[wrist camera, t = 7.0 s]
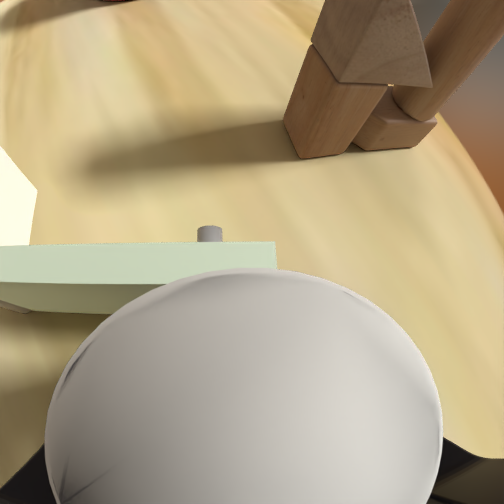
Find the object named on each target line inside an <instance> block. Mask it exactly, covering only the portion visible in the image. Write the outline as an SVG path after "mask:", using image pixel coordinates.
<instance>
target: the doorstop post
mask: <svg viewBox="0 0 504 504" xmlns="http://www.w3.org/2000/svg"><path fill="white" fill-rule="evenodd" d="M442 443H443V421H442V410H441V405H440V400H439V396H438V391H437V388H436V385H435V382H434V380H433V377H432V374H431V371H430V369H429V367H428V365H427V364H426V362H425V360H424V358H423V356H422V354H421V352H420V351H419V349H418V348H417V347H416V345H415V344H414V342H413V341H412V340H411V338H410V337H409V336H408V334H407V333H406V332H405V331H404V330H403V329H402V328H401V327H400V326H399V325H398V324H397V323H396V322H395V321H394V320H393V319H392V318H391V317H390V316H389V315H388V314H387V313H385V312H384V311H383V310H381V309H380V308H379V307H378V306H376V305H375V304H374V303H372V302H371V301H369V300H368V299H366V298H364V297H362V296H361V295H359V294H357V293H355V292H354V291H352V290H350V289H348V288H346V287H343V286H341V285H338V284H336V283H333V282H331V281H328V280H326V279H323V278H320V277H316V276H312V275H308V274H304V273H300V272H296V271H288V270H280V269H272V268H234V269H226V270H218V271H209V272H205V273H201V274H197V275H193V276H189V277H185V278H181V279H178V280H176V281H173V282H170V283H168V284H165V285H163V286H160V287H158V288H155V289H153V290H151V291H149V292H147V293H145V294H143V295H142V296H140V297H138V298H136V299H134V300H133V301H131V302H129V303H127V304H126V305H124V306H123V307H121V308H120V309H119V310H117V311H116V312H115V313H114V314H112V315H111V316H110V317H108V318H107V319H106V320H104V321H103V322H102V323H101V324H100V325H99V326H98V327H97V328H96V329H95V330H94V331H93V332H92V333H91V334H90V335H89V336H88V337H87V338H86V339H85V340H84V341H83V342H82V344H81V345H80V346H79V348H78V349H77V351H76V352H75V353H74V355H73V356H72V358H71V359H70V360H69V362H68V363H67V365H66V367H65V369H64V371H63V373H62V375H61V377H60V379H59V381H58V383H57V385H56V387H55V390H54V393H53V396H52V399H51V402H50V406H49V409H48V414H47V420H46V428H45V461H46V467H47V472H48V477H49V482H50V485H51V488H52V491H53V494H54V497H55V499H56V502H57V504H426V503H427V500H428V498H429V496H430V494H431V492H432V489H433V486H434V483H435V480H436V477H437V474H438V469H439V465H440V459H441V454H442Z"/></svg>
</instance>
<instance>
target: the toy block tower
mask: <svg viewBox="0 0 504 504" xmlns="http://www.w3.org/2000/svg"><path fill="white" fill-rule="evenodd" d="M503 35H504V0H450V2H449V3H448V5H447V6H446V8H445V9H444V11H443V13H442V14H441V16H440V17H439V19H438V20H437V22H436V23H435V25H434V26H433V28H432V29H431V31H430V32H429V34H428V35H427V37H426V39H425V40H424V41H423V40H422V37H421V33H420V29H419V26H418V23H417V20H416V16H415V13H414V10H413V6H412V4H411V0H325V2H324V5H323V8H322V10H321V13H320V16H319V18H318V21H317V24H316V26H315V29H314V32H313V35H312V37H311V42H312V45H310V46H309V48H308V51H307V54H306V56H305V59H304V62H303V65H302V67H301V70H300V73H299V76H298V78H297V81H296V84H295V87H294V89H293V92H292V95H291V98H290V101H289V103H288V106H287V109H286V112H285V114H284V117H283V122H284V125H285V127H286V129H287V131H288V134H289V136H290V138H291V140H292V143H293V145H294V147H295V150H296V152H297V154H298V156H299V157H300V158H302V159H305V158H312V157H319V156H327V155H335V154H341V153H343V152H345V150H346V149H347V147H348V146H349V145H350V143H351V142H352V143H354V144H356V145H357V146H359V147H361V148H362V149H364V150H378V149H389V148H402V147H414V146H416V145H418V143H419V142H420V141H421V140H422V139H423V138H424V137H425V136H426V135H427V134H428V133H429V132H430V131H431V130H432V129H433V128H434V127H435V126H436V124H437V120H436V118H435V117H434V116H435V114H436V113H437V112H438V111H439V110H440V109H441V108H442V107H443V105H444V104H445V103H446V102H447V101H448V100H449V99H450V97H451V96H452V95H453V94H454V93H455V92H456V91H457V90H458V88H459V87H460V86H461V85H462V84H463V83H464V81H465V80H466V79H467V78H468V77H469V76H470V75H471V73H472V72H473V71H474V70H475V69H476V67H477V66H478V65H479V64H480V63H481V61H482V60H483V59H484V58H485V57H486V56H487V54H488V53H489V52H490V51H491V50H492V48H493V47H494V46H495V45H496V44H497V42H498V41H499V40H500V39H501V38H502V36H503ZM388 84H394V86H388Z"/></svg>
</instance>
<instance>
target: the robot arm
mask: <svg viewBox="0 0 504 504" xmlns="http://www.w3.org/2000/svg"><path fill="white" fill-rule="evenodd" d="M0 504H57V502H56V499H55V497H54V494H53V491H52V488H51V485H50V482H49V477H48V472H47V467H46V461H45V443H44V444H43V445H42V446H41V448H40V449H39V450H38V451H37V452H36V453H35V454H34V455H33V456H32V457H31V458H30V459H29V460H28V462H27V463H26V464H25V465H24V466H23V467H22V468H21V469H20V470H19V471H18V472H16V473H15V474H14V475H13V476H12V477H11V478H10V479H9V480H8V481H7V482H6V483H5V484H4V485H3V486H2V487H1V488H0ZM426 504H504V459H491V458H483V457H479V456H476V455H474V454H472V453H470V452H468V451H466V450H464V449H463V448H461V447H459V446H458V445H456V444H454V443H453V442H451V441H449V440H447V439H446V438H444V437H443V443H442V454H441V459H440V465H439V469H438V474H437V477H436V480H435V483H434V486H433V489H432V492H431V494H430V496H429V498H428V500H427V503H426Z"/></svg>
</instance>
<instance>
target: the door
mask: <svg viewBox="0 0 504 504" xmlns="http://www.w3.org/2000/svg"><path fill="white" fill-rule="evenodd" d="M234 268H272V269H277V260H276V248H275V242H222V229H221V228H220V227H217V226H203V227H200V228H198V230H197V242H170V243H105V244H55V245H14V246H0V307H2V308H6V309H9V310H12V311H16V312H20V313H23V314H26V313H29V312H30V311H31V310H34V311H45V312H64V313H88V314H114V313H115V312H116V311H117V310H119V309H120V308H121V307H123V306H124V305H126V304H127V303H129V302H131V301H133V300H134V299H136V298H138V297H140V296H142V295H143V294H145V293H147V292H149V291H151V290H153V289H155V288H158V287H160V286H163V285H165V284H168V283H170V282H173V281H176V280H178V279H181V278H185V277H189V276H193V275H197V274H201V273H205V272H209V271H218V270H226V269H234Z"/></svg>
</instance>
